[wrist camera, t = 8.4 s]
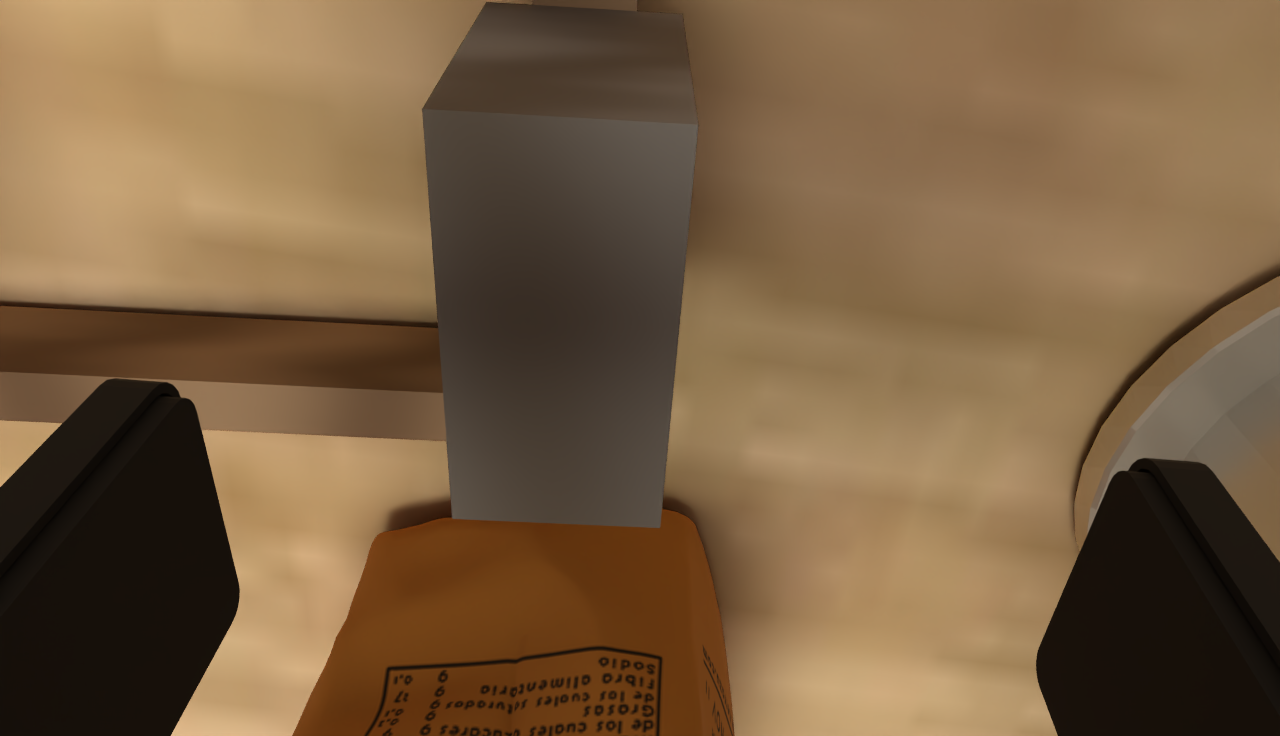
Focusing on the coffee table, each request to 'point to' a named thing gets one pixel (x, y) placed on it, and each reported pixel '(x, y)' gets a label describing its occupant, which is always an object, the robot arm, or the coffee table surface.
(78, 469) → the robot arm
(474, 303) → the brown wooden tray
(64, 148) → the coffee table surface
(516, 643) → the coffee package
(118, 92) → the coffee table surface
